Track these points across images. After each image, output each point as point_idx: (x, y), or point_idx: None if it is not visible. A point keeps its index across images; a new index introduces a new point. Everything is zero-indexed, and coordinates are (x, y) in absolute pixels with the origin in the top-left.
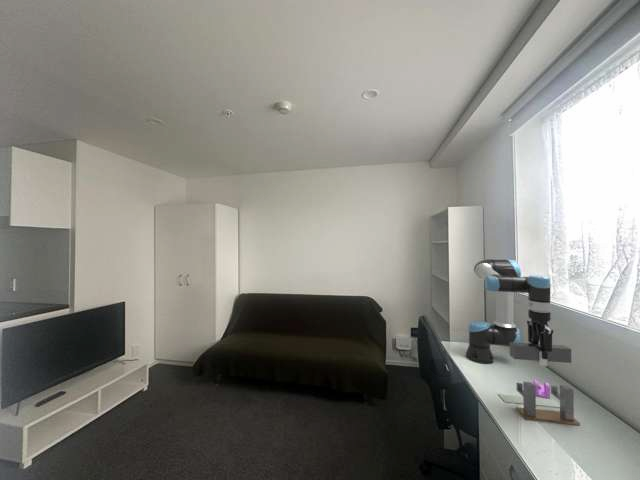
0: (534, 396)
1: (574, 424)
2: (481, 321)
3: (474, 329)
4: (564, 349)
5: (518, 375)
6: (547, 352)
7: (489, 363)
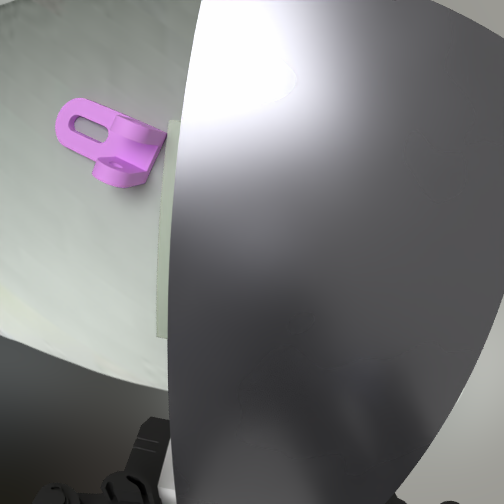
0: None
1: None
2: None
3: None
4: (499, 240)
5: (6, 146)
6: (395, 497)
7: None
